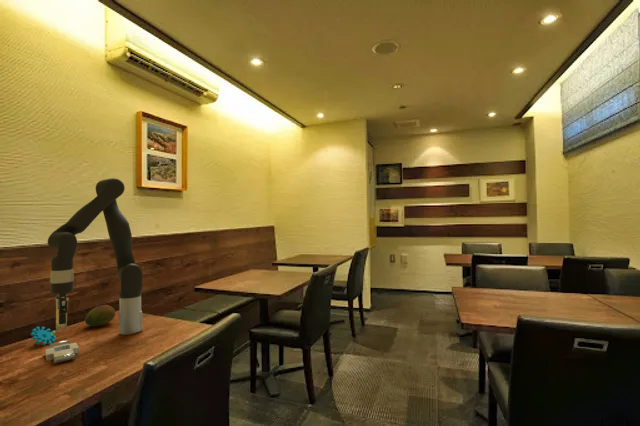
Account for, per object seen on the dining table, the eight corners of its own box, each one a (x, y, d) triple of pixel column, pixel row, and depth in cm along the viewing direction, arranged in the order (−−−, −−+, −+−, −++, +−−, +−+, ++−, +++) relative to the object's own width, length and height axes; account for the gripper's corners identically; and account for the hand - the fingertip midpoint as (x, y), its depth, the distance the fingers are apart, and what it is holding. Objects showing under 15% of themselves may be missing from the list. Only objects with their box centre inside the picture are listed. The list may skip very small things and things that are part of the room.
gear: (41, 345, 137) (28, 327, 138) (31, 355, 137) (17, 337, 138) (63, 339, 148) (50, 323, 149) (53, 348, 148) (41, 332, 149)
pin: (66, 326, 134) (66, 304, 134) (67, 328, 132) (67, 306, 132) (55, 328, 132) (55, 306, 132) (56, 330, 129) (56, 308, 129)
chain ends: (73, 343, 143) (73, 337, 143) (81, 358, 127) (81, 351, 127) (44, 349, 136) (44, 343, 136) (48, 367, 120) (48, 359, 120)
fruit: (119, 322, 172) (119, 303, 172) (98, 330, 159) (98, 310, 160) (101, 320, 174) (101, 302, 174) (79, 328, 162) (79, 308, 162)
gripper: (75, 281, 129) (75, 324, 129) (71, 277, 140) (71, 316, 140) (51, 284, 124) (51, 329, 124) (49, 279, 135) (48, 320, 134)
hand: (61, 322), depth 132 cm, fingers closed on pin, 3 cm apart
